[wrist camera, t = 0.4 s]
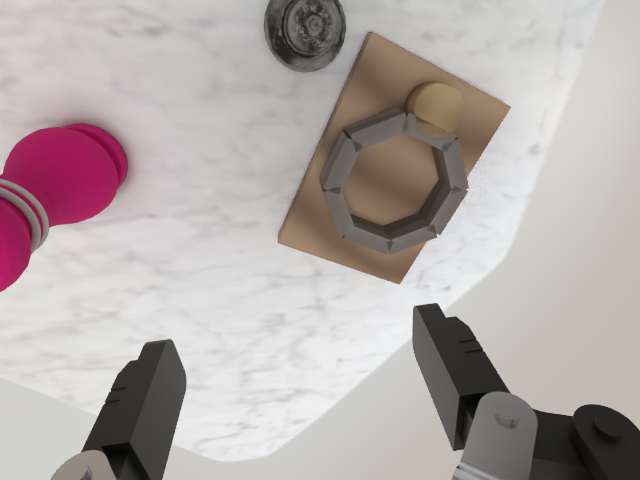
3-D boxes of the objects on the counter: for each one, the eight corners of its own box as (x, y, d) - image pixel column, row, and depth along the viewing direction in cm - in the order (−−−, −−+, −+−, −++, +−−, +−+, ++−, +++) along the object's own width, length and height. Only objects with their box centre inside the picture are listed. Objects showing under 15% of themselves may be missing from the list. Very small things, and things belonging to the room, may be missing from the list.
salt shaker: (348, 0, 30) (387, -20, 20) (326, 78, 33) (349, 98, 22) (275, -28, 29) (274, -64, 18) (257, 56, 31) (248, 65, 21)
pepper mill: (65, 98, 31) (-205, 177, 14) (148, 151, 34) (10, 273, 16) (31, 168, 34) (-237, 312, 16) (112, 212, 36) (-43, 378, 19)
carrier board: (368, 32, 31) (381, 31, 27) (502, 104, 35) (531, 112, 31) (278, 235, 39) (278, 258, 35) (395, 276, 43) (407, 301, 39)
